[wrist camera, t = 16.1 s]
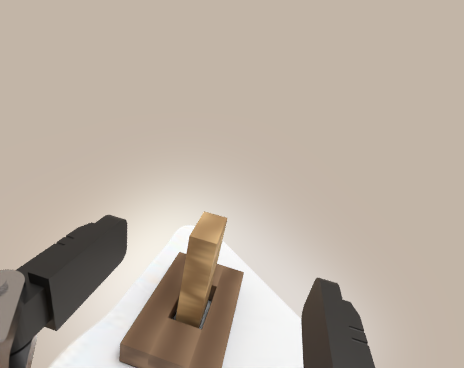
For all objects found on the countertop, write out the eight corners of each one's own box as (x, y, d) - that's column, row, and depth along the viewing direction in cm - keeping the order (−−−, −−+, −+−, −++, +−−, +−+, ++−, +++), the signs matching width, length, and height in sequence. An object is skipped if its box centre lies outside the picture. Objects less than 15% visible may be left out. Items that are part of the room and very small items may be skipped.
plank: (207, 303, 37) (227, 218, 31) (195, 338, 32) (217, 244, 26) (188, 297, 37) (204, 211, 31) (173, 330, 32) (189, 236, 26)
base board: (239, 286, 41) (243, 272, 40) (213, 396, 27) (218, 379, 25) (177, 265, 42) (179, 251, 41) (119, 360, 28) (120, 343, 27)
